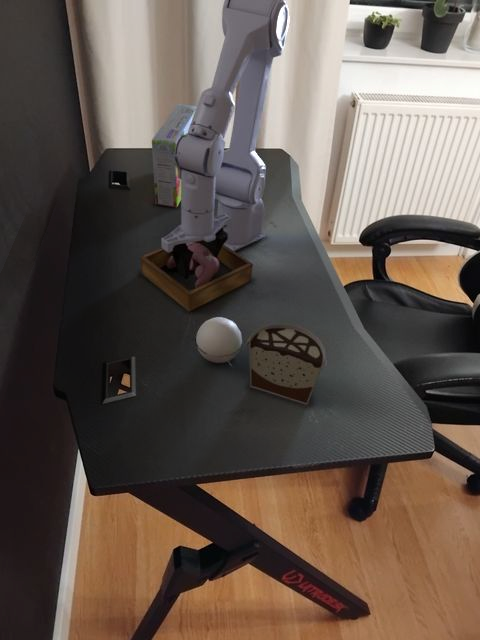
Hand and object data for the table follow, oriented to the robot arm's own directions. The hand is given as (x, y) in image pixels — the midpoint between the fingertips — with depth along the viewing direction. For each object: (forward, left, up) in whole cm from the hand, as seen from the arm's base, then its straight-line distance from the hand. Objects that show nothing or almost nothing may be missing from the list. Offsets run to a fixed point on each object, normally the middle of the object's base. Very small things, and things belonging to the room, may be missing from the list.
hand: (196, 270), depth 107 cm
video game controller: (0, -1, -2) cm, 2 cm away
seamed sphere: (+12, +20, -2) cm, 23 cm away
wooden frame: (0, 0, -2) cm, 2 cm away
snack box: (-20, -31, -2) cm, 37 cm away
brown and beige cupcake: (+7, +30, -2) cm, 31 cm away
